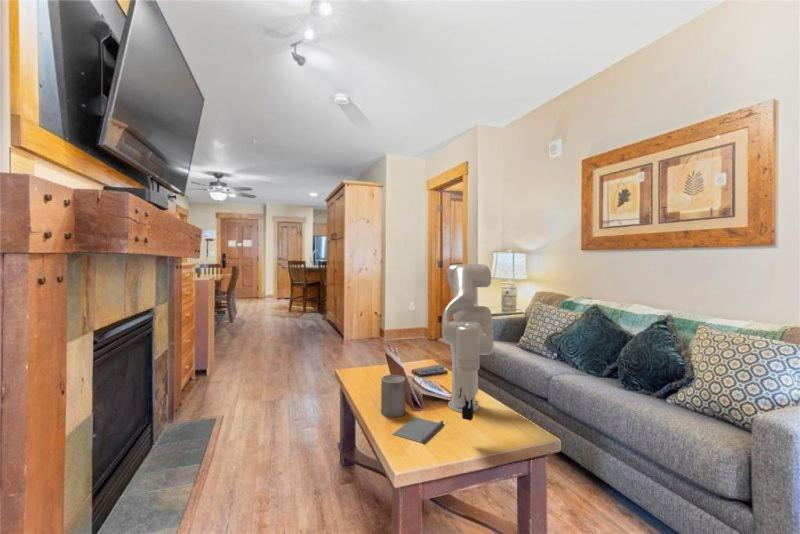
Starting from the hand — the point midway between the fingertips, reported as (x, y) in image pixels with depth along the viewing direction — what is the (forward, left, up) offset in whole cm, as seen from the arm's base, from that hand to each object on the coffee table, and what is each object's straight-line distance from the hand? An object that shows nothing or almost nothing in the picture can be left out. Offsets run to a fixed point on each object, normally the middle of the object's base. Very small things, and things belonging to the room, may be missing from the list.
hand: (467, 418), depth 117 cm
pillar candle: (-8, -34, -8) cm, 36 cm away
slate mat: (0, -18, -8) cm, 19 cm away
